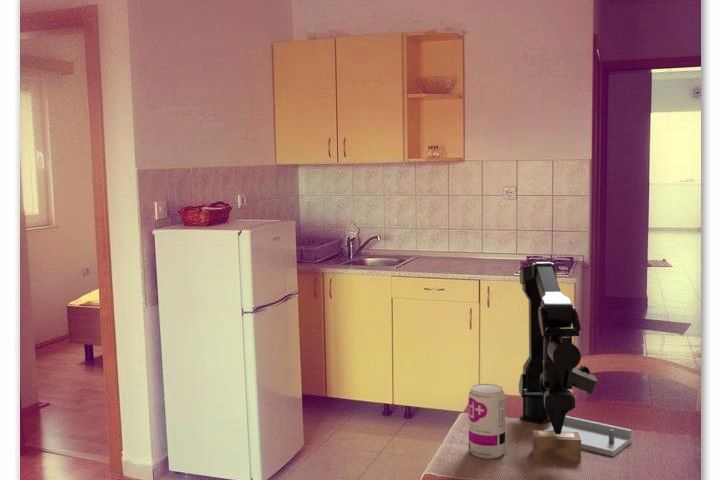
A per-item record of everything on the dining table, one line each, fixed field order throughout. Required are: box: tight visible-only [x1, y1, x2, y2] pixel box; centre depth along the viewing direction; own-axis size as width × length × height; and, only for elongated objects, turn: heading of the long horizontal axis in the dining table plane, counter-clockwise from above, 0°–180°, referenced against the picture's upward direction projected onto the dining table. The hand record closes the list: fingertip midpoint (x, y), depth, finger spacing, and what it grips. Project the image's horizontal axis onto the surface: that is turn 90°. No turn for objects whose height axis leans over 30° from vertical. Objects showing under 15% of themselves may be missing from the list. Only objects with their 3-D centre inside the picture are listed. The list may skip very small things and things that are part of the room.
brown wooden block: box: [532, 429, 582, 462], centre depth 158 cm, size 10×5×5 cm, turn 80°
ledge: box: [543, 415, 633, 457], centre depth 167 cm, size 18×11×4 cm, turn 49°
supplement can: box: [468, 383, 506, 460], centre depth 160 cm, size 8×8×15 cm
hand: (556, 426), depth 158 cm, fingers open, 9 cm apart
